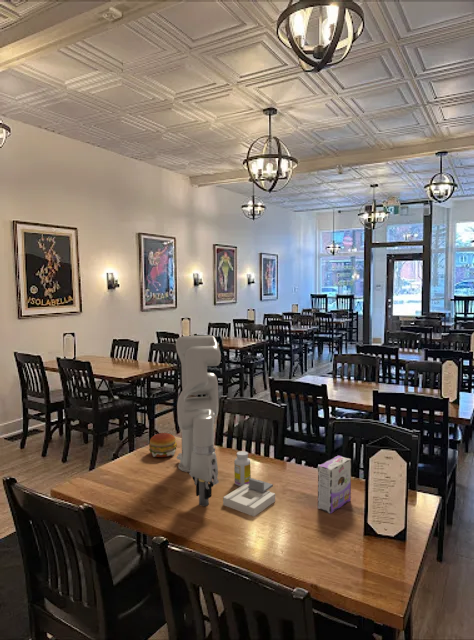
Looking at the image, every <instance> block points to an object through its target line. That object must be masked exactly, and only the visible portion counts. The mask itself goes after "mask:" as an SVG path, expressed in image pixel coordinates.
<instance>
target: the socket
mask: <svg viewBox="0 0 474 640" xmlns="http://www.w3.org/2000/svg"><path fill="white" fill-rule="evenodd" d="M248 486H249V485H247V484H244V485H242V486H238V488H236V489H235V490H233V491H231V492H230V493H228V494H226V495H225V496H222V498H223V500H222V501H223V502H222V506H225V507H227V508H230V509H233V510H236V511H237V512H241V513H243V514H246V515H249V516H250V517H256V516H257V515H259V514H260V513H261V512H263V511H264V510H265V509H267V508H268V507H270V506H271V505H272V504H274V503H275V502H276V493H275V492H271V490H267V491H265V492H264V493H261V492H258V491H255V490H252V489H249V488H248Z"/></svg>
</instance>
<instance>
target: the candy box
mask: <svg viewBox="0 0 474 640" xmlns="http://www.w3.org/2000/svg"><path fill="white" fill-rule="evenodd" d="M317 471H318V472H317V509H319V510H321V511H323V512H325V513H328V514H332V513H333V512H335V511H337V510H338V509H340V508H341V507H343V506H345V505H346V504H347V503H349V502H350V501H351V498H352V497H351V494H352V492H351V491H352V490H351V489H352V487H351V485H352V459H351V458H349V457H345V456H342V455H337V456H334V457H333V458H331V459H328V460H326V461H325V462H323V463H321V464H319V465H318V468H317Z"/></svg>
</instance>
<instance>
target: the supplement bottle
mask: <svg viewBox="0 0 474 640" xmlns="http://www.w3.org/2000/svg"><path fill="white" fill-rule="evenodd" d="M233 463H234V465H233V466H234V471H233V472H234V473H233V474H234V484H235V485H236V486H238V487H241V486H242V485H244V484H247V485H249V479H250V478H252V476H251V474H252V473H251V472H252V471H251V469H252V468H251V459H250V458H249V452H248V451H245V450H241V451H239V450H238V451H237V452H236V458H235V459H234V462H233Z"/></svg>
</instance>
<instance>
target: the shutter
mask: <svg viewBox="0 0 474 640" xmlns="http://www.w3.org/2000/svg"><path fill="white" fill-rule="evenodd" d="M273 487H274V484H273V483H269V482H266V481H263V480H260V479H256V478H253V477H251V478H250V479H249V486H248V488H249V489H252V490H255V491H258V492H261V493H264V492H265V491H269V490H270V489H272V488H273Z"/></svg>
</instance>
